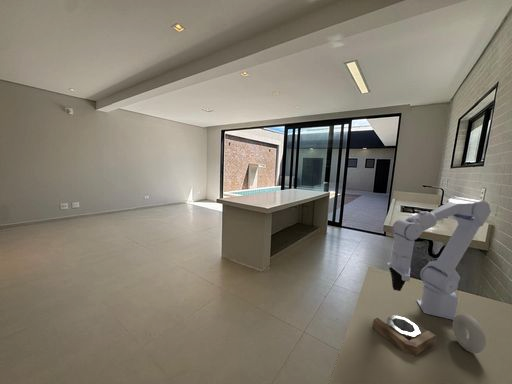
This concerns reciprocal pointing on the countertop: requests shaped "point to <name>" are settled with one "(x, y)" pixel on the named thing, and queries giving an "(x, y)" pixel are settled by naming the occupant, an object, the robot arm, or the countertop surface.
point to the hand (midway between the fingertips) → (396, 289)
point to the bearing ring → (403, 326)
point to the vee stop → (400, 341)
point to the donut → (476, 333)
